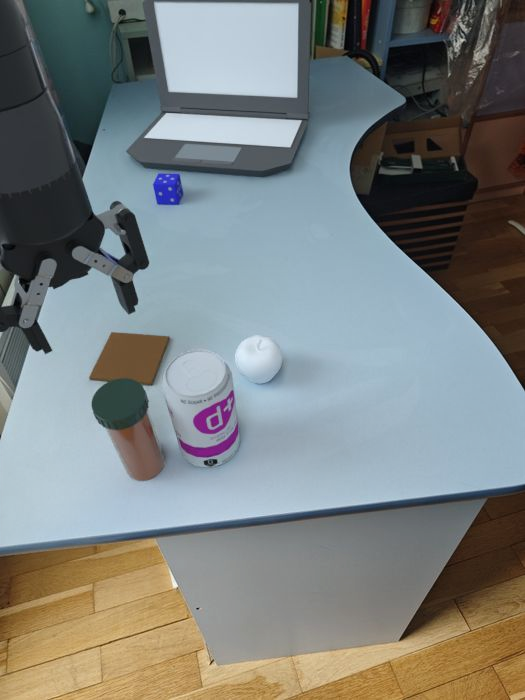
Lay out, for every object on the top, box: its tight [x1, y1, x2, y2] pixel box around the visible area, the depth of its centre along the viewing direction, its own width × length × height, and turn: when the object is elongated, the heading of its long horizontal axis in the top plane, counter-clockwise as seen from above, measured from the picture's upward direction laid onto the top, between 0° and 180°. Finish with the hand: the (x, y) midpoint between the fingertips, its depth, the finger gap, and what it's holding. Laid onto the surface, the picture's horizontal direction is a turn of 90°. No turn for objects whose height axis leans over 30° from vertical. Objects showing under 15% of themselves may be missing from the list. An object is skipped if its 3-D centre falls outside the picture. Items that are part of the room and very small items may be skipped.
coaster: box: [88, 331, 170, 386], centre depth 77 cm, size 10×10×1 cm
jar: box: [105, 409, 166, 482], centre depth 59 cm, size 5×5×14 cm
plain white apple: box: [234, 334, 283, 385], centre depth 71 cm, size 7×7×8 cm
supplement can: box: [161, 348, 241, 468], centre depth 61 cm, size 8×8×15 cm
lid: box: [91, 378, 150, 430], centre depth 55 cm, size 6×6×2 cm
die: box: [152, 172, 184, 206], centre depth 110 cm, size 5×5×5 cm
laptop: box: [125, 0, 312, 178], centre depth 117 cm, size 43×31×34 cm
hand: (88, 327), depth 46 cm, fingers open, 8 cm apart
